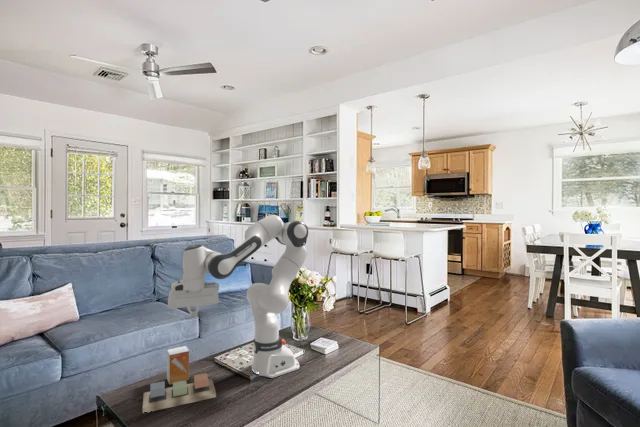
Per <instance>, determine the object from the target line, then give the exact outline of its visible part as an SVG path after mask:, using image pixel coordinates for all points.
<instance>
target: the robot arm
mask: <svg viewBox="0 0 640 427" xmlns="http://www.w3.org/2000/svg"><path fill="white" fill-rule="evenodd" d="M244 232H245V233H244V241H243V242H242V243H240V245H238V246H237V247H235V248H234V249H232V250H231V251H230V252H227V253H222V252H219V251H215V250H213V249H209V248H207V247H205V246H204V245H202V244H194V245H190V246H188V247H187V246H186V248H185V249H184V251H183V254H182V255H183V256H182V270H183V274H182V279H180V280H177V281H174V282H173V283H171V286H170V288H171V289H170V290H169V293H168V298H167V308H168V309H171V310H173V309H182V308H187V311H188V312H189V317H190V318H191V317H198V312H199V311H200V310H201V306H208V305H209V306H210V305H216V304H218V303H219V300H220V299H219V298H220V297H219V290H220V285H219V283H218V282H215V281H212V282H205V281H206V279H205V278H206V274H210V275H211V276H212V277H213V278H215V279H216V280H225V279H226V278H228V277H230V276H231V275H232V274H233V273H234V271H235V270H236V268H237V267H238V266H239V265H240V264H241V263H243V262H244V261H245V260H247V259H248V258H250V256H252V255H253V254H255V253H256V252H257V251H258V250H259V249H260V248H262V247H263V246H265V245H266V244H268V243H270V242H271V241H272V240H274V239H275V240H276V241H277V242H278V243H280V245H283V246H285V250H284V252H283V253H282V255H281V256H280V257H279V259H278V261H277V262H276V263H275V265H274V266H273V267H272V270H271V275H272V276H271V280H270V283H269V284H267V283H263V282H255V283H252V284H251V285H250V286H248V288H247V291H246V299H247V300H248V302H249V304H250V309H251V312H252V316H253V317H252V318H253V321H254V338H253V344H252V345H253V359H252V364H251V367H252V369H253V370H254V371H257V372H259V375H258V376H259V377H261V376H262V377H265V378H266V377H267V378H271V379H274V378H276V377H279V376H282V375H285V374H289V373H291V372H295V371H297V370H299V369H300V362H299V361H298V359H296V358H295V354H294V353H293V351H292V350H291V349H290V348H289V347H287V346H286V343H287V341H286V340H285V339H283V338H282V337H281V336H280V335H279V334H280V332H279V329H280V328H279V327H280V325H279V324H280V322H279V319H278V317H277V315H276V314H280V315H281V314H282V313H284V312H286V310H287V308H288V307H289V304H290V297H289V291H290V288H291V284H292V282H293V281H294V279H295V277H297V274H298V273H299V271H300V269H301V268H302V266H303V265H304V263H305V260H306V259H307V256H308V250H307V248H306V247H305V245H306V244H307V240H308V237H309V227H308V226H307V224H305V222H302V221H299V220H293V221H288V222H284V221H283V220H282V218H281V217H280V216H278V215H277V214H271V215H268V216H266V217H265V216H264V218H262V219H259V220H258V221H256V222H254V223H253V224H251V225H250V226H248V228H247V229H246V230H245V231H244ZM192 307H196V309H195V310H193V311H192Z"/></svg>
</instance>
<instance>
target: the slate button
mask: <svg viewBox="0 0 640 427" xmlns="http://www.w3.org/2000/svg"><path fill="white" fill-rule="evenodd" d="M165 382H166V381H165V380H164V381H163V380H162V381H158V382H152V383H150V386H149V387H150V388H149V389H150V390H149V392H150V398H153V397H158V396H163V395H165V387H166V385H165V384H166V383H165Z"/></svg>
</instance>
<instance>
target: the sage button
mask: <svg viewBox="0 0 640 427" xmlns="http://www.w3.org/2000/svg"><path fill="white" fill-rule="evenodd" d="M187 384H188V382H187V380H185V381H180V382H174V383H173V384H172V387H173V397H174V396H179V395H184V394H187Z"/></svg>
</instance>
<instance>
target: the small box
mask: <svg viewBox="0 0 640 427" xmlns="http://www.w3.org/2000/svg"><path fill="white" fill-rule="evenodd" d="M166 379H167V382H168V385H173V383H174V382H180V381H185V380H186V381H189V379H190V351H189V348H188V347H187V345H184V346H179V347H175V348H170V349H167V350H166Z"/></svg>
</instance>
